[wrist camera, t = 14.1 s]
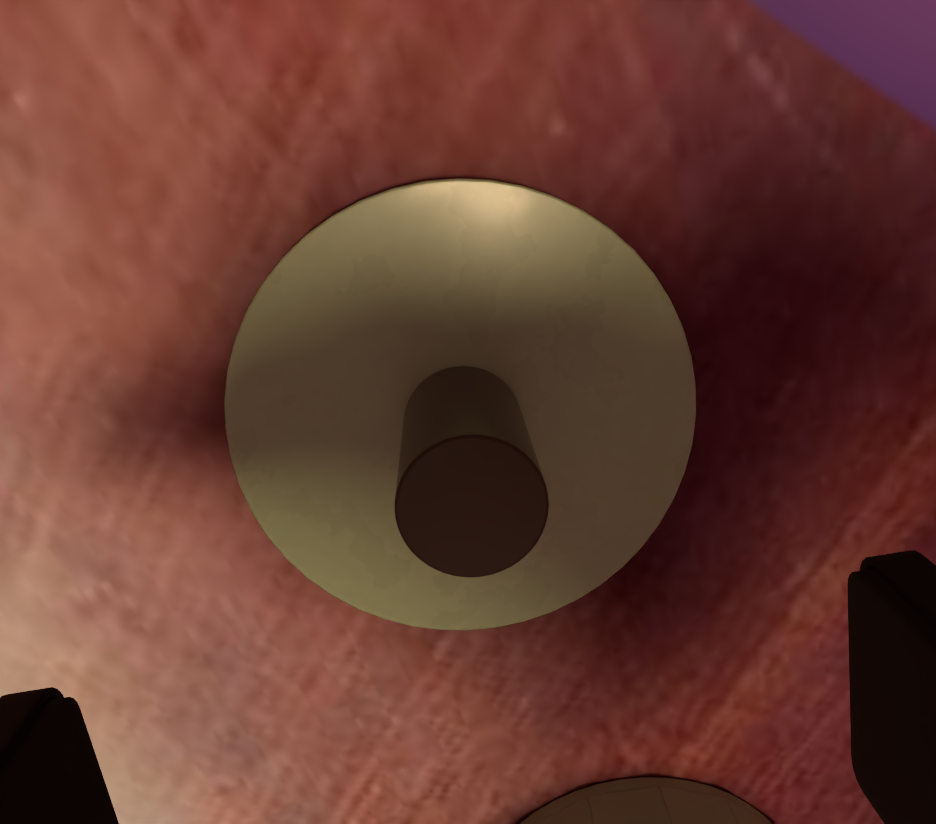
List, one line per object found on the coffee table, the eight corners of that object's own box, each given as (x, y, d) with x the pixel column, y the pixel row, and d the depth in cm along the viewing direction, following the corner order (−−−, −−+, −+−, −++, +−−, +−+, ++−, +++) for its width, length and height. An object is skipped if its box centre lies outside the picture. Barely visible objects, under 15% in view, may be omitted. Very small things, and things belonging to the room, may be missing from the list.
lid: (665, 141, 21) (763, 138, 15) (700, 576, 25) (791, 722, 18) (184, 218, 21) (79, 246, 15) (286, 640, 25) (236, 806, 19)
